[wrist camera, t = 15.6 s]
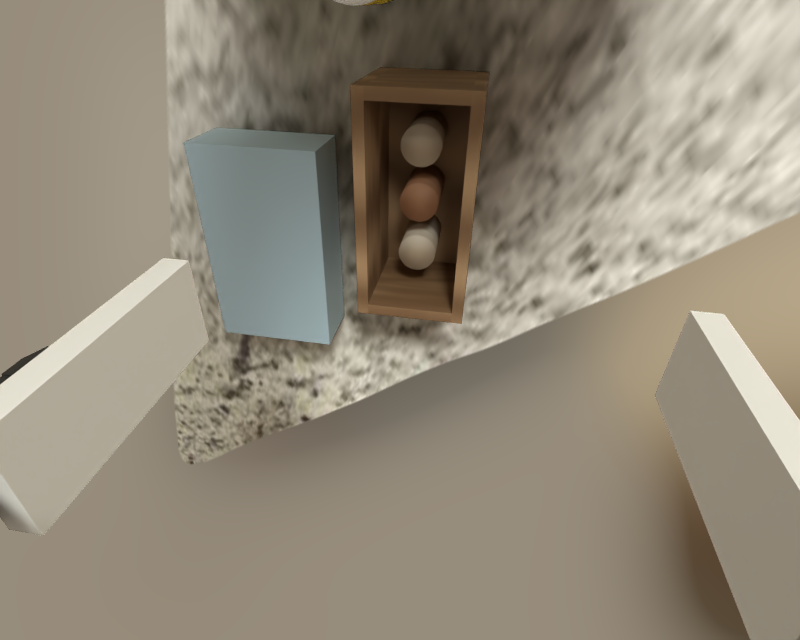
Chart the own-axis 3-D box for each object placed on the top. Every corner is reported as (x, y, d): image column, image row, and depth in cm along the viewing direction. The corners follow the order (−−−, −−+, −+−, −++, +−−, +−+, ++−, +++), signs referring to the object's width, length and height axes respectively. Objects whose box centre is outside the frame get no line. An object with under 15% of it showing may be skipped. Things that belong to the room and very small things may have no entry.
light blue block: (223, 124, 40) (183, 142, 35) (338, 131, 39) (315, 151, 34) (253, 297, 50) (225, 332, 45) (347, 308, 49) (329, 344, 44)
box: (380, 67, 36) (349, 85, 28) (489, 71, 35) (486, 91, 27) (381, 260, 45) (358, 312, 37) (467, 268, 44) (461, 323, 36)
